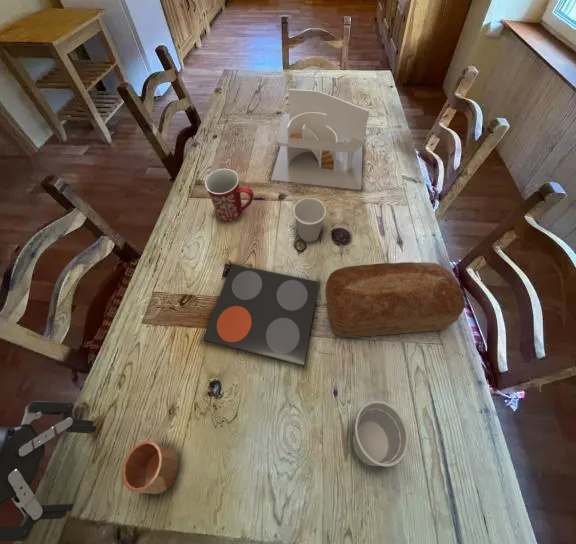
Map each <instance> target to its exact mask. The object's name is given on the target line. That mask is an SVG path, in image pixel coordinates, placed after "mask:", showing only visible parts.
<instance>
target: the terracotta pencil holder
mask: <svg viewBox="0 0 576 544" xmlns="http://www.w3.org/2000/svg"><path fill="white" fill-rule="evenodd" d="M178 471H179V460H178V456H177V455H176V453H175V452H174V451H173V450H172V449H171V448H168V447H166V446H164V445H161V444H160V443H157V442H155V441H152V440H144V441H140V442H139V443H137V444H136V445H134V446H133V447H132V448H131V450H130V451H129V452H128V453H127V455H126V457H125V460H124V462H123V465H122V472H121V477H122V481H123V485H124V486H125V488H127V489H128V490H129V491H131V492H134V493H141V494H150V495H157V494H162V493H164V492H166V491H167V490H169V488H170V487H171V486H172V485H173V483H174V481H175V480H176V478H177V474H178Z"/></svg>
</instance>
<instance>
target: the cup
mask: <svg viewBox="0 0 576 544" xmlns="http://www.w3.org/2000/svg"><path fill="white" fill-rule="evenodd" d="M408 433H409V432H408V428H407V425H406V422H405V420H404V419H403V417H402V414H401V413H400V412H399V411H398V410H397V409H396V408H395V407H394V406H392V405H391V404H389V403H388V402H385V401H382V400H372V401H369V402H366V403H365V404H364V405H363V406H362V407H361V408H360V409H359V411H358V413H357V414H356V418H355V425H354V431H353V434H352V445H353V449H354V452H355V454H356V455H357V457H358V459H359V460H360V461H361V462H363V463H364V464H365V465H366V466H370V467H377V466H378V467H392V466H396V465H397V464H398V463H400V462H401V461H402V460H403V458H404V457H405V455H406V453H407V450H408V446H409V434H408Z"/></svg>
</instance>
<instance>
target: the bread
mask: <svg viewBox="0 0 576 544" xmlns="http://www.w3.org/2000/svg"><path fill="white" fill-rule="evenodd" d="M324 288H325V289H324V290H325V291H324V292H325V293H324V294H325V299H326V311H327V317H328V320H329V321H328V322H329V325H330V329H331V331H332V333H333V334H334V335H335V336H338V337H345V338H359V337H360V338H361V337H370V336H387V335H388V336H389V335H399V334H409V333H417V332H418V333H420V332H436V331H443V330H446V329H448V328H449V327H450V326H451V325H453V324H454V323H456V322H457V321H458V319H459V317H460V316H461V315H462V313H463V311H464V309H465V308H466V300H465V297H464V292H463V291H462V289H461V286H460V284H459V282H458V279H457V277H456V276H454V274H453V273H452V272H451V271H450V270H449V269H447V268H445V267H444V266H443V265H441V264H439V263H437V262H429V261H428V262H427V261H425V262H424V261H423V262H421V261H420V262H415V261H413V262H412V261H411V262H410V261H407V262H406V261H405V262H403V261H402V262H384V263H383V262H381V263H371V264H357V265H349V266H344V267H341V268H338V269H335V270H334V271H332V272H331V273H330V274H329V276H328V278H327V280H326V282H325V287H324Z"/></svg>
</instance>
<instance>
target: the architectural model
mask: <svg viewBox="0 0 576 544" xmlns="http://www.w3.org/2000/svg"><path fill="white" fill-rule="evenodd" d="M288 107H289V108H288V110H289V112H288V113H287V112H285V113H283V114H282V115H281V119H280V123H279V127H278V132H277V137H276V144H277V145H278V146H280V147H279V150H278V154H277V157H276V160H275V164H274V167H273V171H272V173H271V178H270V180H271V181H276V182H285V183H295V184H305V185H312V186H322V187H331V188H340V189H351V190H360V191H362V175H363V149H364V148H363V147H364V146H363V145H364V144H365V143H366V142H367V139H368V136H367V135H366V131H367V125H368V120H369V119H368V118H369V113H370V110H369V109H367V108H365V107H363V106H362V107H361V106H359V105H357V104H354V103H351V102H349V101H346V100H344V99H342V98H338V97H336V96H333V95H330V94H328V93H326V92H322V91H320V90H314V89H313V90H312V89H298V88H288Z"/></svg>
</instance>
